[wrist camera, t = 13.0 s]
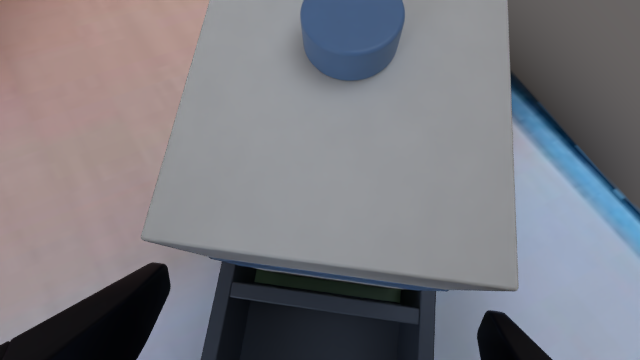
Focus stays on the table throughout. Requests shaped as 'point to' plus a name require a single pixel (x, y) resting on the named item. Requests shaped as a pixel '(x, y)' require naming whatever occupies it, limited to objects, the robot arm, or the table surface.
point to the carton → (347, 144)
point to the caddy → (315, 319)
